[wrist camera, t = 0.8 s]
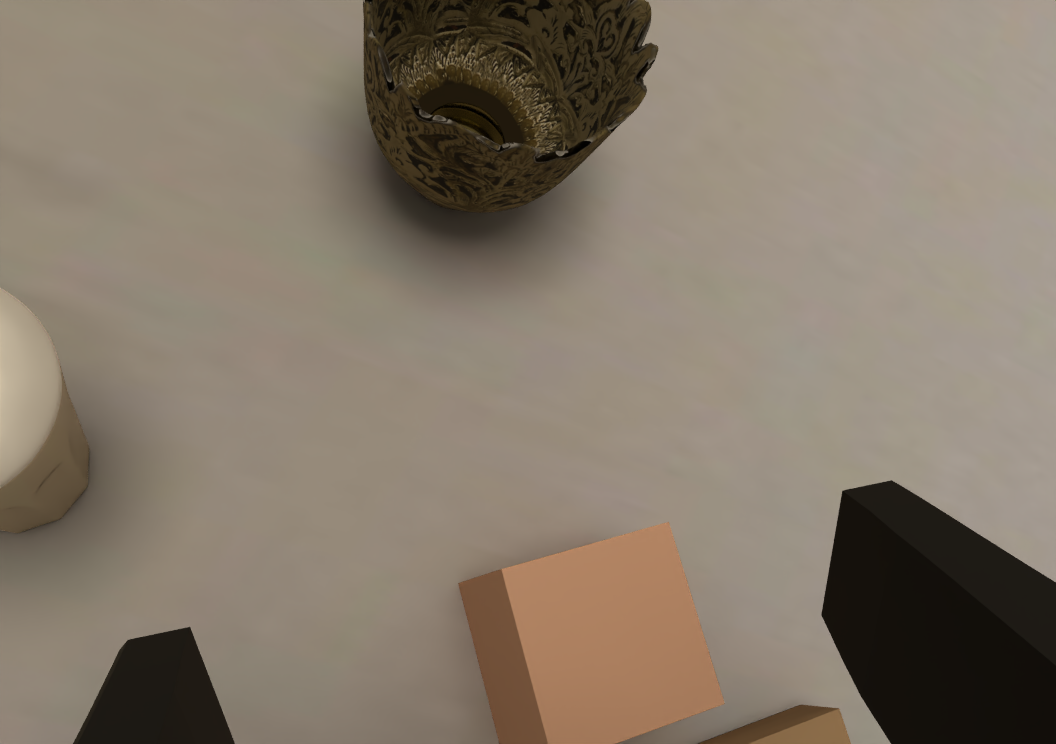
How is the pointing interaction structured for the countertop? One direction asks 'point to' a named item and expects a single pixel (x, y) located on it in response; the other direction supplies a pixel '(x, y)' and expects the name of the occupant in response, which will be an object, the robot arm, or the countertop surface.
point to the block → (591, 643)
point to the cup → (499, 91)
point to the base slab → (791, 728)
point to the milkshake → (35, 425)
